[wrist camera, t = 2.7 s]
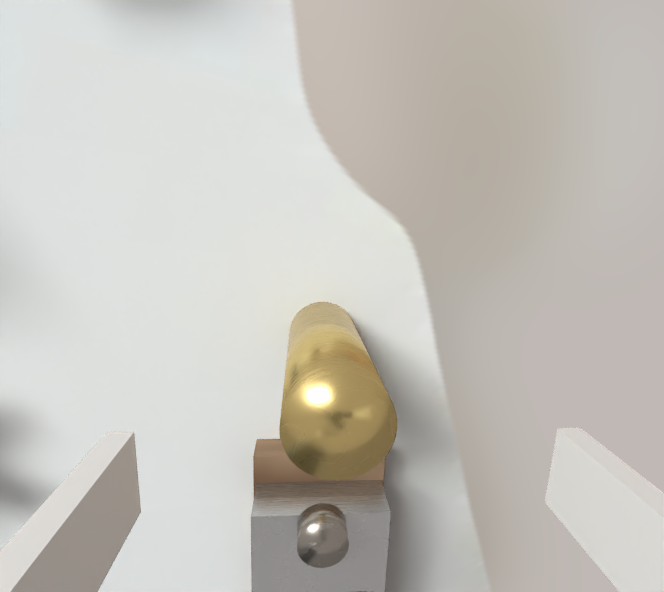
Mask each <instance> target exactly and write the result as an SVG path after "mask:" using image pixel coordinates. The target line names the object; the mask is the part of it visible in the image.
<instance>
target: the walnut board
mask: <svg viewBox="0 0 664 592" xmlns="http://www.w3.org/2000/svg"><path fill="white" fill-rule="evenodd" d="M384 469H385V458H384V459H383V460H382V461H381V462H380V463H379V464H378V465H377V466H376V467H374V468H373V469H372V470H370V471H368V472H367V473H365V474H362V475H360V476H358V477H354V478H351V479H346V480H325V479H320V478H317V477H314V476H311V475H309V474H307V473H305V472H304V471H302V470H301V469H299V468H298V467H297V466H296V465H295V464H294V463H293V462H292V461H291V460H290V459H289V457H288V456H287V454H286V452H285V451H284V448H283V446H282V443H281V439H258V440H257V442H256V447H255V452H254V496H255V490H256V484H257V483H267V482H310V481H352V480H381V482H382V485H383V484H384ZM357 592H358V591H357Z"/></svg>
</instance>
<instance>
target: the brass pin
mask: <svg viewBox="0 0 664 592" xmlns="http://www.w3.org/2000/svg"><path fill="white" fill-rule="evenodd" d="M396 432H397V416H396V412H395V408H394V406H393V404H392V401H391V399H390V397H389V395H388V393H387V391H386V389H385V387H384V385H383V383H382V381H381V379H380V377H379V375H378V373H377V371H376V369H375V366H374V364H373V362H372V360H371V358H370V356H369V354H368V352H367V350H366V348H365V346H364V344H363V342H362V340H361V338H360V336H359V334H358V332H357V330H356V328H355V326H354V323H353V321H352V319H351V318H350V316H349V315H348V313H347V312H346V311H345V310H344V309H342V308H341V307H339V306H337V305H335V304H332V303H328V302H317V303H313V304H310V305H308V306H306V307H304V308H303V309H302V310H300V311H299V312H298V313H297V314H296V316H295V317H294V319H293V321H292V323H291V327H290V333H289V342H288V352H287V361H286V371H285V381H284V390H283V400H282V409H281V419H280V438H281V443H282V446H283V448H284V451H285V452H286V454H287V456H288V457H289V459H290V460H291V461H292V462H293V463H294V464H295V465H296V466H297V467H298V468H299V469H301V470H302V471H304V472H305V473H307V474H309V475H311V476H314V477H317V478H320V479H325V480H346V479H351V478H354V477H358V476H360V475H362V474H365V473H367V472H368V471H370V470H372V469H373V468H374V467H376V466H377V465H378V464H379V463H380V462H381V461H382V460H383V459H384V458H385V457H386V455H387V454H388V452H389V451H390V449H391V447H392V445H393V443H394V440H395V437H396Z"/></svg>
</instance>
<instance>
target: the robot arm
mask: <svg viewBox="0 0 664 592" xmlns="http://www.w3.org/2000/svg"><path fill="white" fill-rule="evenodd" d="M545 503H546V504H547V506H548V507H549V508H550V509H551V510H552V512H553V513H554V514H555V515H556V516H557V517H558V519H559V520H560V521H561V522H562V524H563V525H564V526H565V527H566V528H567V530H568V531H569V532H570V533H571V534H572V535H573V537H574V538H575V539H576V540H577V542H578V543H579V544H580V545H581V546H582V548H583V549H584V550H585V551H586V552H587V554H588V555H589V556H590V557H591V559H593V561H594V562H595V563H596V564H597V566H598V567H599V568H600V569H601V571H602V572H603V573H604V574H605V575H606V577H607V578H608V579H609V580H610V581H611V583H612V584H613V585H614V586H615V587H616V589H617V590H618V591H619V592H664V493H663V492H662V491H660V490H659V489H658V488H657V487H655V486H654V485H653V484H652V483H650V482H649V481H648V480H646V479H645V478H644V477H643V476H641V475H640V474H639V473H637V472H636V471H635V470H633V469H632V468H631V467H630V466H628V465H627V464H626V463H625V462H623V461H622V460H621V459H620V458H618V457H617V456H616V455H614V454H613V453H612V452H610V451H609V450H608V449H607V448H605V447H604V446H603V445H601V444H600V443H599V442H598V441H596V440H595V439H594V438H593V437H591V436H590V435H589V434H587V433H586V432H585V431H584V430H582V429H581V428H558V430H557V435H556V441H555V446H554V452H553V458H552V463H551V469H550V474H549V480H548V486H547V491H546V496H545ZM140 513H141V508H140V496H139V484H138V472H137V460H136V449H135V437H134V432H107V433H106V434H105V435H104V436H103V437H102V438H101V439H100V440H99V442H98V443H97V444H96V445H95V446H94V447H93V448H92V449H91V450H90V452H89V453H88V454H87V455H86V456H85V457H84V458H83V459H82V460H81V462H80V463H79V464H78V465H77V466H76V467H75V468H74V469H73V470H72V472H71V473H70V474H69V475H68V476H67V477H66V478H65V479H64V481H63V482H62V483H61V484H60V485H59V486H58V487H57V488H56V489H55V491H54V492H53V493H52V494H51V495H50V496H49V497H48V498H47V499H46V501H45V502H44V503H43V504H42V505H41V506H40V507H39V508H38V509H37V511H36V512H35V513H34V514H33V515H32V516H31V517H30V518H29V520H28V521H27V522H26V523H25V524H24V525H23V526H22V527H21V528H20V530H19V531H18V532H17V533H16V534H15V535H14V536H13V537H12V538H11V540H10V541H9V542H8V543H7V544H6V545H5V546H4V547H3V549H2V550H1V551H0V592H98V590H99V588H100V586H101V584H102V582H103V580H104V579H105V577H106V575H107V573H108V571H109V569H110V568H111V566H112V564H113V562H114V560H115V558H116V557H117V555H118V553H119V551H120V549H121V547H122V546H123V544H124V542H125V540H126V538H127V536H128V535H129V533H130V531H131V529H132V527H133V525H134V524H135V522H136V520H137V518H138V516H139V514H140Z"/></svg>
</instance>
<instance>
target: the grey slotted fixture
mask: <svg viewBox="0 0 664 592" xmlns="http://www.w3.org/2000/svg"><path fill="white" fill-rule="evenodd" d="M390 517H391V511H390V508H389V505H388V501H387V498H386V495H385V491H384V488H383V485H382V482H381V480H352V481H310V482H267V483H257V484H256V490H255V496H254V502H253V508H252V514H251V566H252V592H357V591H358V592H385V583H386V569H387V556H388V543H389V530H390Z"/></svg>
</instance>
